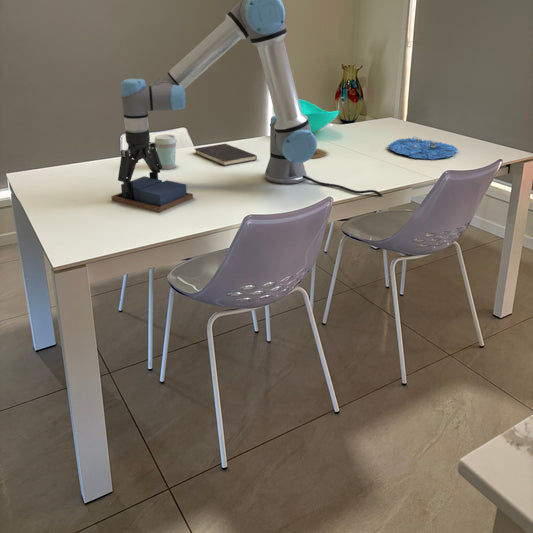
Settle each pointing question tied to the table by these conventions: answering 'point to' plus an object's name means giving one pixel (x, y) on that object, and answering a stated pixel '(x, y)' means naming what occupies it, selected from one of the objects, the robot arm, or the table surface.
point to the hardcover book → (225, 154)
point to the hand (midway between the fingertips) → (142, 196)
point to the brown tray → (150, 207)
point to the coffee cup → (166, 150)
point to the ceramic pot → (318, 153)
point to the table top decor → (316, 115)
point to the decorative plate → (422, 148)
